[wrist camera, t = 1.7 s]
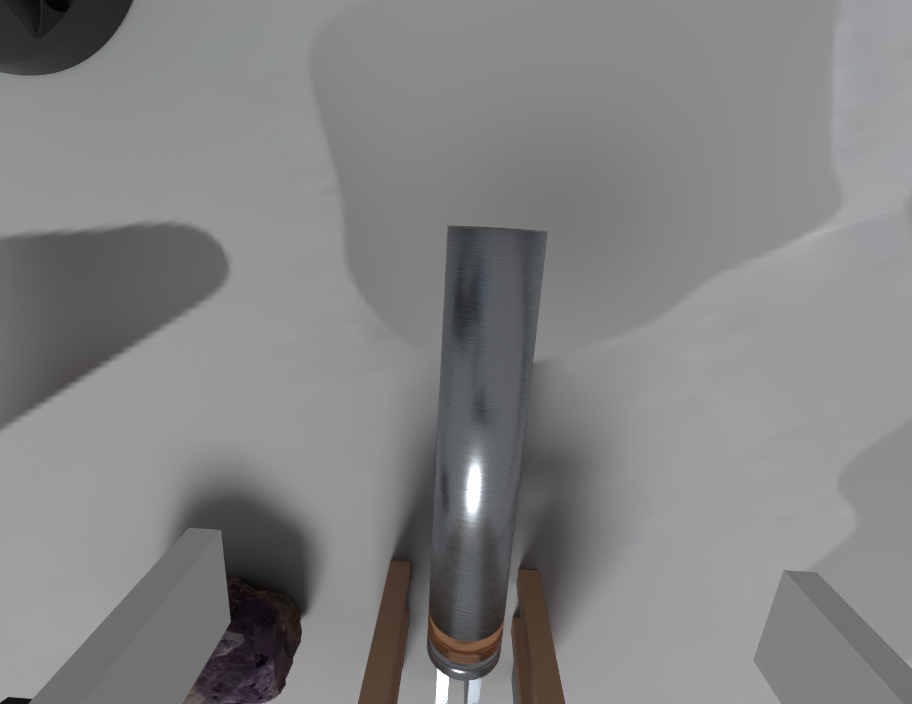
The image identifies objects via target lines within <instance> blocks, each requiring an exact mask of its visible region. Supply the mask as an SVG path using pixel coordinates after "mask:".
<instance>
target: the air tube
mask: <svg viewBox="0 0 912 704" xmlns="http://www.w3.org/2000/svg"><path fill="white" fill-rule="evenodd" d="M546 241H547V232H545V231H535V230H534V231H533V230H522V229H521V230H520V229H506V228H490V227H489V228H488V227H472V226H471V227H470V226H448V231H447V252H446V272H445V292H444V313H443V333H442V353H441V372H440V393H439V413H438V433H437V453H436V473H435V493H434V514H433V534H432V554H431V574H430V594H429V615H428V635H427V650H428V654H429V657H430V659H431V661H432V663H433V664H434V665H435V667H436V668H437V669H438V670H439V671H440V672H442V673H443V674H445V675H446V676H448V677H451V678H453V679H457V680H463V681H470V680H476V679H479V678H481V677H484V676H485V675H487V674H488V673H489V672H491V671H492V670H493V668H494V667H495V666H496V664H497V662H498V660H499V657H500V652H501V643H502V634H503V625H504V616H505V607H506V598H507V589H508V580H509V571H510V562H511V554H512V545H513V536H514V527H515V518H516V509H517V500H518V491H519V482H520V473H521V464H522V456H523V447H524V438H525V429H526V420H527V411H528V402H529V393H530V384H531V375H532V366H533V357H534V348H535V339H536V331H537V322H538V312H539V303H540V295H541V286H542V276H543V267H544V259H545V250H546Z"/></svg>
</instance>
